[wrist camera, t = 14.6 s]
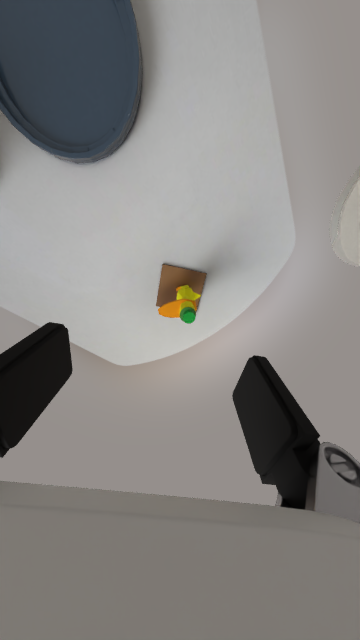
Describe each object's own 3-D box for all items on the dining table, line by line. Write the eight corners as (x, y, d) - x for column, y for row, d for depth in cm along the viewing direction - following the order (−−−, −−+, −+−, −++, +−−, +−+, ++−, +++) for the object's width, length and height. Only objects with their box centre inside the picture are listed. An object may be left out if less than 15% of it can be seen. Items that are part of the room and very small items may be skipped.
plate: (152, -43, 17) (148, -78, 15) (135, 179, 25) (131, 174, 23) (-47, -118, 16) (-79, -169, 14) (1, 144, 24) (-15, 136, 22)
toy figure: (165, 302, 33) (158, 334, 23) (161, 284, 32) (152, 309, 21) (199, 297, 33) (209, 327, 22) (197, 278, 31) (207, 301, 21)
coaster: (206, 273, 31) (206, 273, 31) (195, 312, 35) (195, 313, 34) (162, 263, 31) (162, 264, 30) (156, 305, 34) (155, 306, 34)
